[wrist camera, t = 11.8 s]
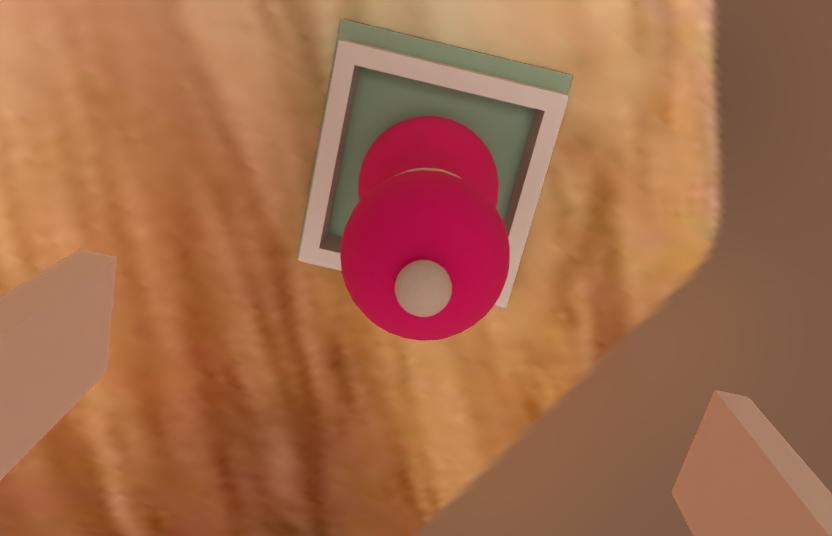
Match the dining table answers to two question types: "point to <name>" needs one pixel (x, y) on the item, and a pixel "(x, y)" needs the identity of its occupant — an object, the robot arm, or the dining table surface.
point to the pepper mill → (426, 231)
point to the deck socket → (430, 96)
